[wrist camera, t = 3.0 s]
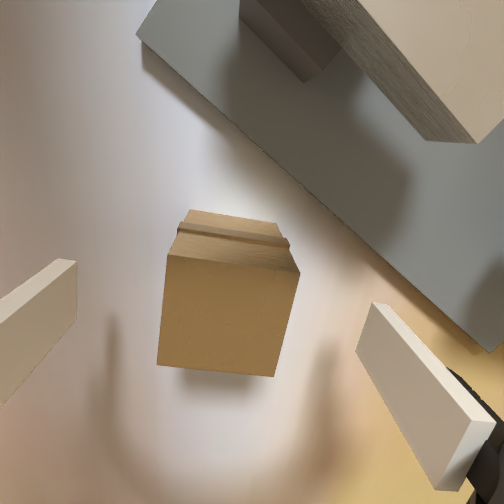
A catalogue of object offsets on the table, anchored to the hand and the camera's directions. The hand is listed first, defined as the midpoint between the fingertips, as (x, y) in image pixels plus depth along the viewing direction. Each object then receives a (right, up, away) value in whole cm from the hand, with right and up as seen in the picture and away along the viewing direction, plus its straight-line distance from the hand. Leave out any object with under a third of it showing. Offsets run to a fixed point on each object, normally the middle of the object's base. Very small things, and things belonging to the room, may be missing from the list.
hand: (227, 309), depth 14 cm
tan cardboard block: (0, +2, +5) cm, 5 cm away
